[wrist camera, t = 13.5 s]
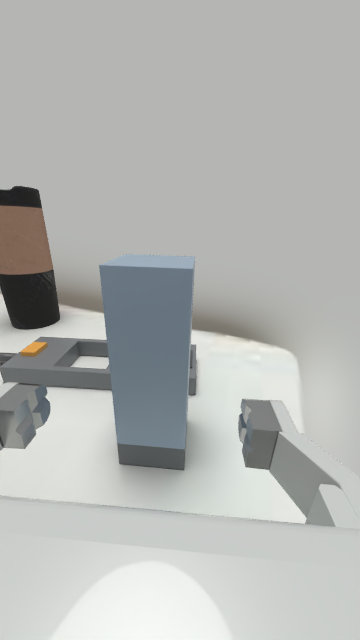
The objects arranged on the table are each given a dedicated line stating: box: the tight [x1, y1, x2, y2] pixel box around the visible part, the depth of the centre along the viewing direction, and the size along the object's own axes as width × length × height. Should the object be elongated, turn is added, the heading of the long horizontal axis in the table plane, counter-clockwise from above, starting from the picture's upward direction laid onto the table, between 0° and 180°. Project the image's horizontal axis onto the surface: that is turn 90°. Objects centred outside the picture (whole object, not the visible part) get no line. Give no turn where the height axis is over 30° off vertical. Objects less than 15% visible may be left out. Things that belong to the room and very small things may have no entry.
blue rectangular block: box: [99, 254, 195, 470], centre depth 16 cm, size 5×5×14 cm
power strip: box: [0, 337, 196, 395], centre depth 27 cm, size 26×7×2 cm, turn 86°
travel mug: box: [0, 186, 60, 329], centre depth 37 cm, size 8×8×20 cm
